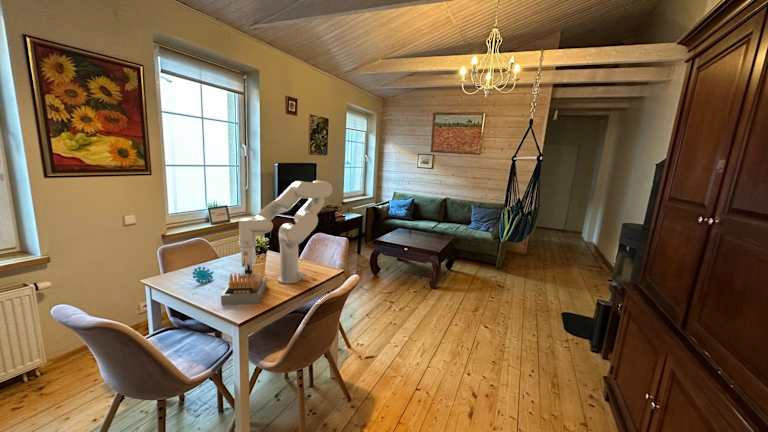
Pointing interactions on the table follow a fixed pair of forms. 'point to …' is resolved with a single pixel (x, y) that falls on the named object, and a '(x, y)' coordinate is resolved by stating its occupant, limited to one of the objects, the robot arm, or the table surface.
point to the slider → (256, 278)
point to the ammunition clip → (241, 284)
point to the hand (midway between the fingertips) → (248, 277)
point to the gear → (202, 275)
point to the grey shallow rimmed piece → (243, 296)
